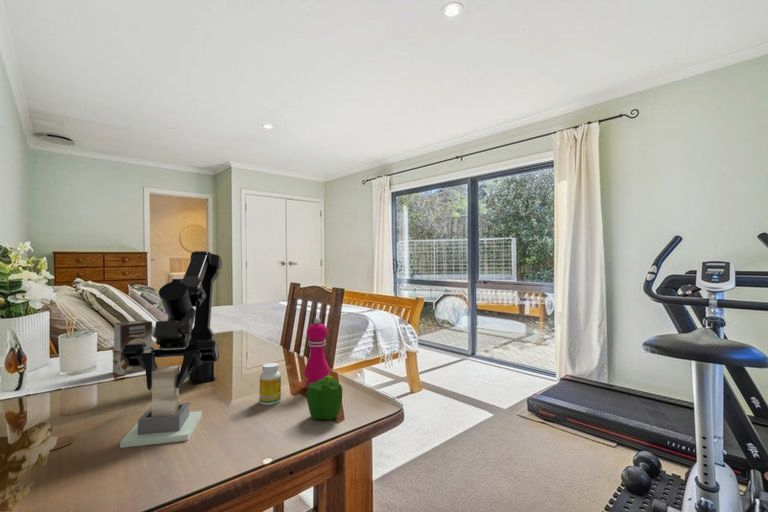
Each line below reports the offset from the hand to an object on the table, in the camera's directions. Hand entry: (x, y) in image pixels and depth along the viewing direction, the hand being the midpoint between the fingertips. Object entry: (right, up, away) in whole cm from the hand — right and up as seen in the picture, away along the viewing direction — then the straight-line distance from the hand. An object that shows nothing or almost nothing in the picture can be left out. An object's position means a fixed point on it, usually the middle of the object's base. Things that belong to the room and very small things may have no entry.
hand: (163, 388), depth 77 cm
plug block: (0, -8, +1) cm, 8 cm away
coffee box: (-37, -10, +44) cm, 58 cm away
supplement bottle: (+17, -10, +18) cm, 27 cm away
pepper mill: (+27, -10, +29) cm, 41 cm away
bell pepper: (+33, -10, +9) cm, 35 cm away
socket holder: (0, -10, +1) cm, 10 cm away
